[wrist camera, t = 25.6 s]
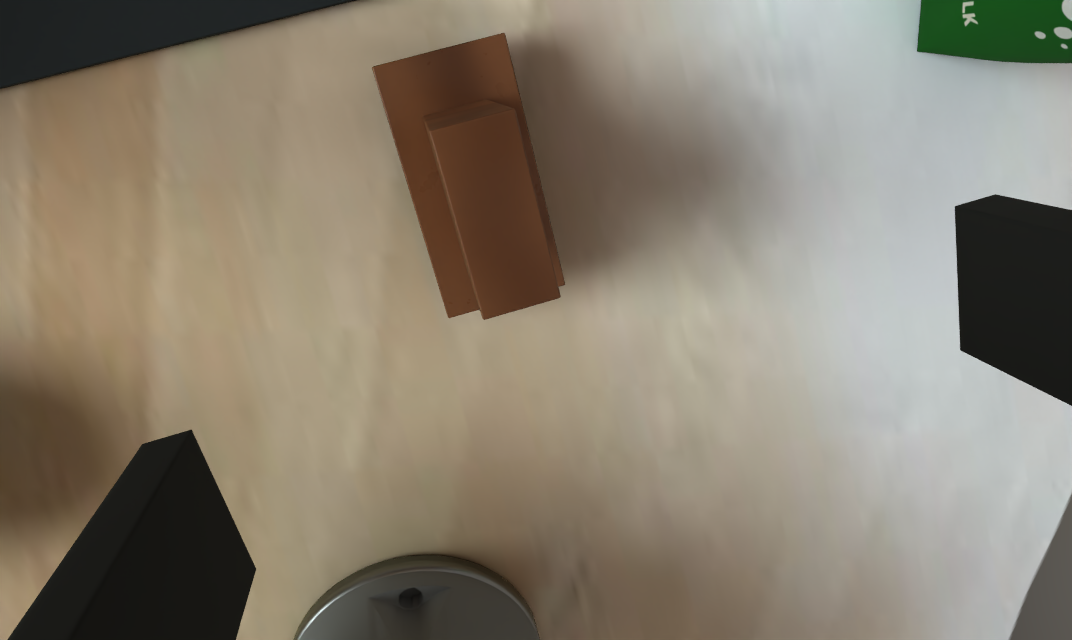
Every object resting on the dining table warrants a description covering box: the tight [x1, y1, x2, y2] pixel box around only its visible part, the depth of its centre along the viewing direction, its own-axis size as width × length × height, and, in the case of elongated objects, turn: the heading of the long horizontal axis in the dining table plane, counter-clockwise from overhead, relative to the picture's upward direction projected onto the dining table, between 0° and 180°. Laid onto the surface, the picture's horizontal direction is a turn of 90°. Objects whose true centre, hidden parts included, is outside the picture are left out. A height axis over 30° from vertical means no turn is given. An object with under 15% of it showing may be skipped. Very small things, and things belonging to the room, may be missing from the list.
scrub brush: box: [372, 33, 565, 320], centre depth 32 cm, size 6×12×12 cm, turn 14°
